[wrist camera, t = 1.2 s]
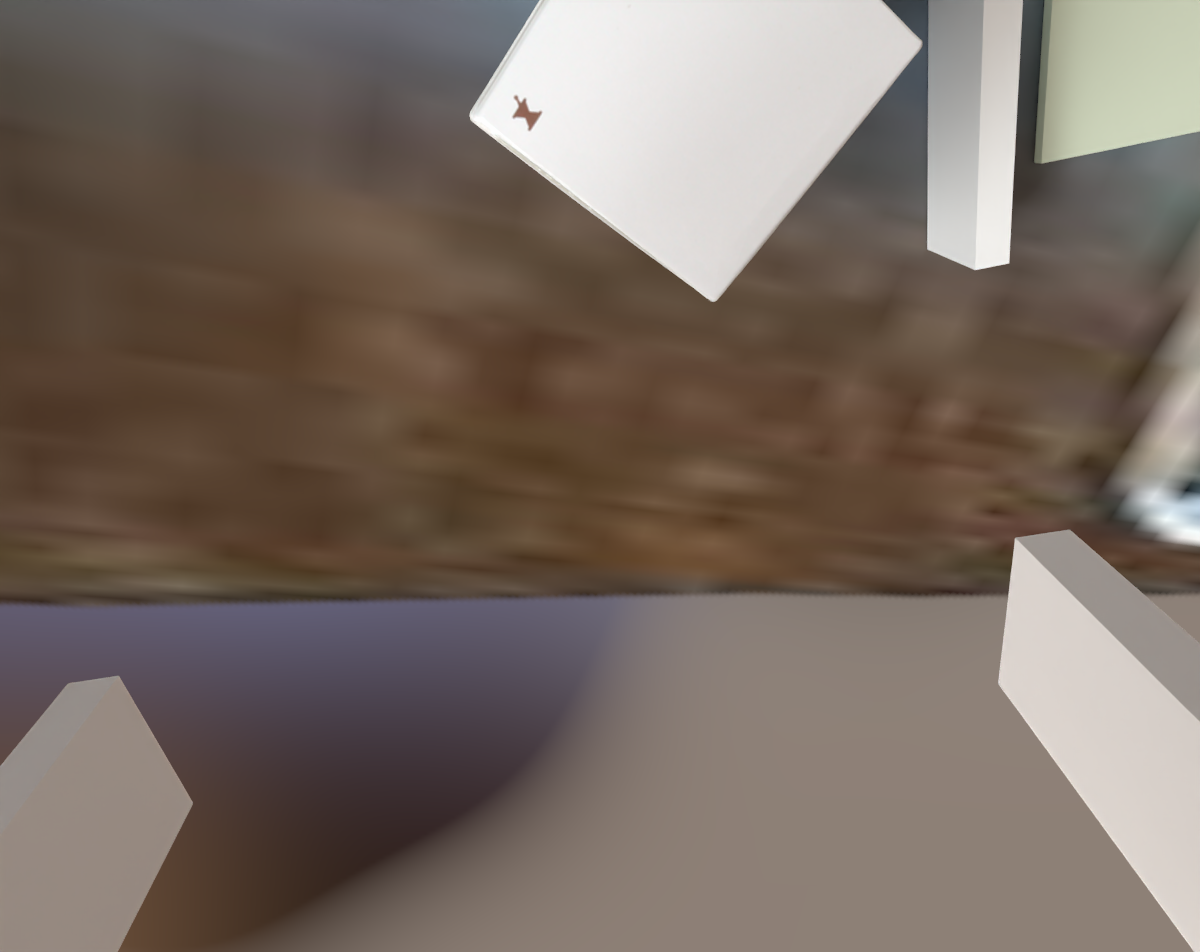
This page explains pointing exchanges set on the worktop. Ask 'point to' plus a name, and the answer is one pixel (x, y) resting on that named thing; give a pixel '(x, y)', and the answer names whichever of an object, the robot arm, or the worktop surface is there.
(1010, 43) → the acrylic wall
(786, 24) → the supplement box
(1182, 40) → the sage mat
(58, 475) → the worktop surface
